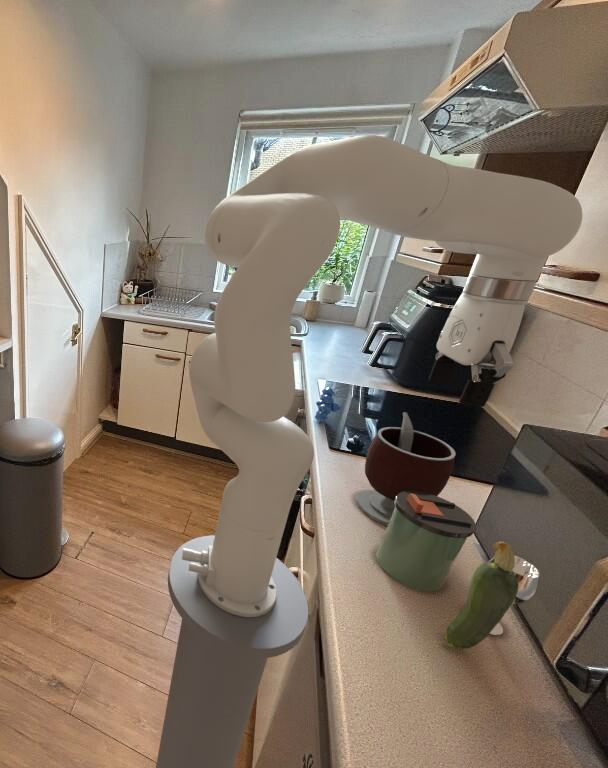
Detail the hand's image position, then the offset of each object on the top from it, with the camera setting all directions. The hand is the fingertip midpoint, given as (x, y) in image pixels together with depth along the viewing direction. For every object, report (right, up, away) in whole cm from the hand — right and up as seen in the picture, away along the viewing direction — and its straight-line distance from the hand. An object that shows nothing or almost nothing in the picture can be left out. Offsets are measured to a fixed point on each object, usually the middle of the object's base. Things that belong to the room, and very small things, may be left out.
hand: (453, 393), depth 68 cm
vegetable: (-7, -38, -8) cm, 39 cm away
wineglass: (+1, -36, -4) cm, 37 cm away
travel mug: (-3, -32, +6) cm, 33 cm away
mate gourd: (+4, -26, +21) cm, 34 cm away
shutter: (-4, -20, +1) cm, 20 cm away
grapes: (+11, -11, +58) cm, 60 cm away
